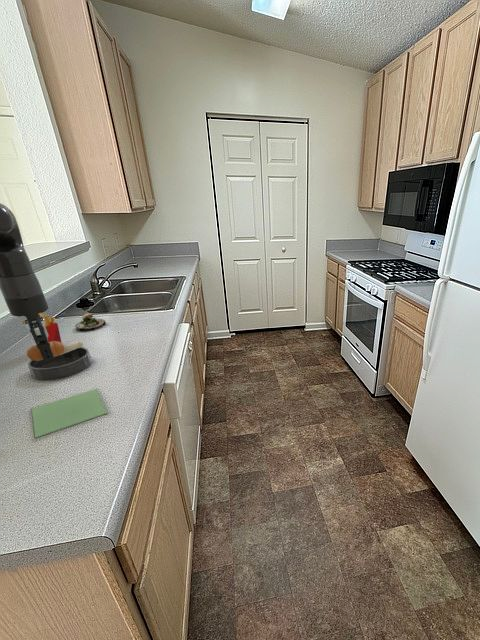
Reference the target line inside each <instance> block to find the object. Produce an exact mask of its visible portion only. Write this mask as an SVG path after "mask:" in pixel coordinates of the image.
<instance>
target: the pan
mask: <svg viewBox="0 0 480 640" xmlns="http://www.w3.org/2000/svg"><path fill="white" fill-rule="evenodd" d="M92 362H93V361H92V357H91V354H90V351H89V349H88V348H85V347H84V346H82V347H80V348H77V349H75V350H72V351H69V352H67V353H64V354H62V355H59V356H56V357H54V360H52V361H48V362H45V361H44V360H40V361H34V360H31V359H29V362H28V363H27V366H28V369H29V371H30V373H31V376H32V377H33V378H34V379H35V380H39V381H51V380H59V379H64V378H68V377H71V376H74V375H77V374H79V373H81V372H83V371H84V370H86V369H87V368H89V367H90V366H91V365H92Z"/></svg>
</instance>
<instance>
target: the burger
mask: <svg viewBox="0 0 480 640" xmlns="http://www.w3.org/2000/svg"><path fill="white" fill-rule="evenodd" d="M103 324H105V325H106V324H107V321H106V320H105V319H102V318H95V317H94V315H93V314H92V313H84V314H83V315H82V317H81V321H79V322H78V323H76V324H75V325H74V327H75V330H76V331H78V332H80V331H81V330H90V329H95V328H99V327H100V326H102V325H103Z"/></svg>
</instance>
